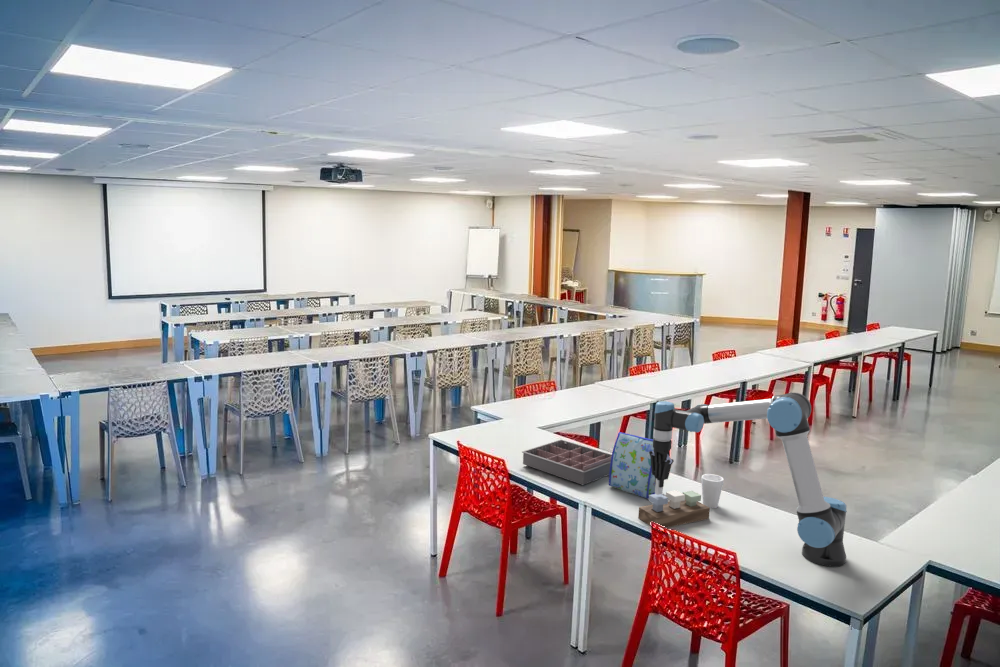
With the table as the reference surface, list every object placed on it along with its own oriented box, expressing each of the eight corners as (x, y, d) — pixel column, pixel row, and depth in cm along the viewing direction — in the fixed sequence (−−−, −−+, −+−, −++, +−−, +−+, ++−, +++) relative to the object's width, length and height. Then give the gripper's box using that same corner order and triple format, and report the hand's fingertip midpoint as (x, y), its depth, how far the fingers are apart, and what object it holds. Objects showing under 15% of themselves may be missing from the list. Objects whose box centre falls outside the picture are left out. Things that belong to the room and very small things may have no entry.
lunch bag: (665, 491, 320) (669, 437, 316) (648, 501, 307) (652, 445, 303) (623, 479, 334) (626, 427, 330) (606, 488, 321) (609, 435, 317)
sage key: (700, 508, 291) (701, 495, 290) (690, 510, 289) (691, 497, 288) (691, 503, 296) (692, 490, 295) (681, 505, 294) (682, 492, 293)
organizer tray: (560, 453, 371) (561, 435, 369) (622, 472, 343) (623, 453, 342) (520, 466, 348) (521, 447, 346) (583, 488, 320) (584, 468, 319)
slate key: (667, 511, 283) (668, 497, 282) (656, 513, 281) (657, 499, 280) (658, 506, 288) (659, 493, 287) (648, 508, 286) (649, 495, 285)
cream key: (684, 508, 287) (685, 494, 286) (673, 510, 285) (674, 496, 284) (675, 503, 292) (676, 490, 291) (665, 505, 290) (666, 492, 289)
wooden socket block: (708, 518, 290) (709, 507, 289) (656, 529, 278) (657, 518, 277) (689, 508, 300) (690, 497, 300) (638, 518, 288) (639, 507, 288)
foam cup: (706, 510, 299) (709, 482, 297) (695, 502, 307) (697, 474, 306) (725, 508, 301) (728, 480, 299) (713, 500, 310) (716, 473, 308)
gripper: (680, 442, 276) (676, 498, 279) (659, 433, 287) (655, 487, 291) (665, 444, 272) (661, 500, 276) (645, 435, 284) (641, 489, 287)
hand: (658, 493), depth 283 cm, fingers closed
